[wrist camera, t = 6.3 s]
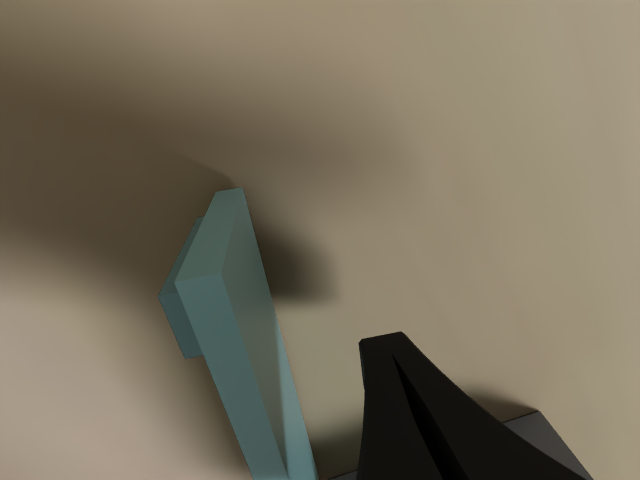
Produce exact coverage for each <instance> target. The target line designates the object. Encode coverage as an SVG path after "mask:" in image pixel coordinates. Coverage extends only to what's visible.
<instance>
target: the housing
mask: <svg viewBox="0 0 640 480" xmlns="http://www.w3.org/2000/svg"><path fill="white" fill-rule="evenodd" d="M503 424H504V425H505V426H507V427H508V428H510V429H511V430H512V431H514V432H515V433H516V434H518V435H519V436H521V437H522V438H523V439H525V440H526V441H528V442H529V443H531V444H532V445H533V446H535V447H536V448H538V449H539V450H541V451H542V452H544V453H545V454H547V455H548V456H550V457H552V458H553V459H555V460H556V461H558V462H560V463H561V464H563V465H564V466H566V467H568V468H569V469H571V470H572V471H574V472H575V473H577V474H579V475H580V476H582V477H583V478H585V479H587V480H593V478H592V477H591V476H590V474H589V473H588V472H587V471H586V469H585V468H584V467H583V465H582V464H581V463H580V462H579V460H578V459H577V458H576V457H575V455H574V454H573V453H572V451H571V450H570V449H569V448H568V446H567V445H566V444H565V443H564V441H563V440H562V439H561V437H560V436H559V435H558V434H557V432H556V431H555V430H554V429H553V427H552V426H551V425H550V423H549V422H548V421H547V420H546V418H545V417H544V416H543V415H542V413H541V412H540V411H539V412H536V413H533V414H529V415H526V416H523V417H520V418H517V419H514V420H511V421H508V422H505V423H503ZM357 471H358V470H357ZM357 471H354V472H351V473H348V474H345V475H342V476H339V477H335V478H332V479H329V480H356V477H357Z"/></svg>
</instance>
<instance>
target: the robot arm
mask: <svg viewBox="0 0 640 480" xmlns="http://www.w3.org/2000/svg"><path fill="white" fill-rule="evenodd" d="M359 351H360V359H361V368H362V376H363V385H364V389H365V400H364V417H363V431H362V441H361V449H360V457H359V464H358V471H357V477H356V480H587V479H585V478H583V477H582V476H580V475H579V474H577V473H575V472H574V471H572V470H571V469H569V468H568V467H566V466H564V465H563V464H561V463H560V462H558V461H556V460H555V459H553V458H552V457H550V456H548V455H547V454H545V453H544V452H542V451H541V450H539V449H538V448H536V447H535V446H533V445H532V444H531V443H529V442H528V441H526V440H525V439H523V438H522V437H521V436H519V435H518V434H516V433H515V432H514V431H512V430H511V429H510V428H508V427H507V426H505V425H504V424H503V423H501V422H500V421H499V420H497V419H496V418H495V417H494V416H492V415H491V414H490V413H489V412H487V411H486V410H485V409H483V408H482V407H481V406H480V405H479V404H477V403H476V402H475V401H474V400H473V399H471V398H470V397H469V396H468V395H467V394H466V393H464V392H463V391H462V390H461V389H460V388H459V387H458V386H456V385H455V384H454V383H453V382H452V381H451V380H450V379H449V378H448V377H447V376H446V375H445V374H443V373H442V372H441V371H440V370H439V369H438V368H437V367H436V366H435V365H434V364H433V363H432V362H431V361H430V360H429V359H428V358H427V357H426V356H425V355H424V354H423V353H422V352H421V351H420V350H419V349H418V348H417V347H416V346H415V345H414V344H413V342H412V341H411V340H410V339H409V338H408V337H407V336H406V335H405V334H404V333H403V332H396V333H391V334H385V335H380V336H375V337H370V338H365V339H362V340H361V341H360V342H359Z"/></svg>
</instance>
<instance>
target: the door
mask: <svg viewBox="0 0 640 480" xmlns="http://www.w3.org/2000/svg"><path fill="white" fill-rule="evenodd" d="M158 298H159V300H160V303H161V305H162V307H163V310H164V312H165V314H166V317H167V319H168V321H169V323H170V326H171V328H172V330H173V333H174V335H175V337H176V339H177V342H178V344H179V346H180V349H181V351H182V353H183V355H184V358H185V359H187V358H192V357H197V356H202V355H204V358H205V360H206V363H207V365H208V368H209V370H210V373H211V375H212V378H213V380H214V383H215V385H216V388H217V390H218V393H219V395H220V398H221V400H222V403H223V405H224V408H225V410H226V413H227V415H228V417H229V420H230V422H231V425H232V427H233V430H234V432H235V435H236V437H237V440H238V442H239V445H240V447H241V450H242V452H243V455H244V457H245V460H246V462H247V465H248V467H249V470H250V472H251V475H252V477H253V480H319V477H318V473H317V469H316V465H315V462H314V458H313V454H312V450H311V446H310V442H309V439H308V435H307V431H306V427H305V423H304V420H303V416H302V412H301V408H300V404H299V401H298V397H297V393H296V389H295V385H294V381H293V378H292V374H291V370H290V366H289V362H288V359H287V355H286V351H285V347H284V343H283V340H282V336H281V332H280V328H279V324H278V320H277V317H276V313H275V309H274V305H273V301H272V298H271V294H270V290H269V286H268V282H267V279H266V275H265V271H264V267H263V263H262V259H261V256H260V252H259V248H258V244H257V240H256V237H255V233H254V229H253V225H252V221H251V218H250V214H249V210H248V206H247V202H246V198H245V195H244V191H243V187H240V188H235V189H229V190H224V191H218V192H215V195H214V197H213V199H212V201H211V203H210V206H209V208H208V210H207V212H206V214H205V216H203V217H198V218H197V220H196V222H195V224H194V226H193V227H192V229H191V231H190V233H189V235H188V237H187V239H186V241H185V243H184V245H183V247H182V249H181V251H180V253H179V255H178V257H177V259H176V261H175V263H174V265H173V267H172V269H171V271H170V273H169V275H168V277H167V279H166V281H165V283H164V285H163V287H162V289H161V291H160V293H159V295H158Z"/></svg>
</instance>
